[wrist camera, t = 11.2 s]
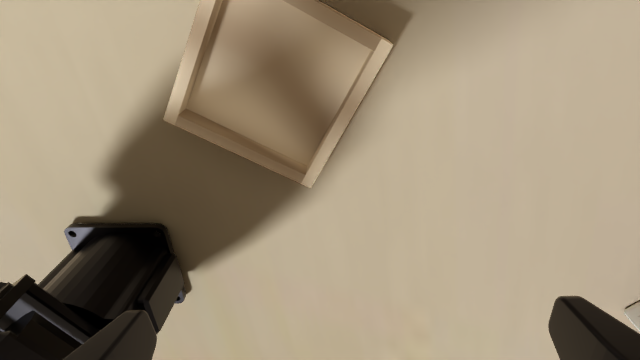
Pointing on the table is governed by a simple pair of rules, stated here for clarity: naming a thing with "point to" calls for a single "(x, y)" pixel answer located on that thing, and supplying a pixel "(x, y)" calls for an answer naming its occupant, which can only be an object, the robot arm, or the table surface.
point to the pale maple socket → (274, 80)
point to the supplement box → (634, 314)
